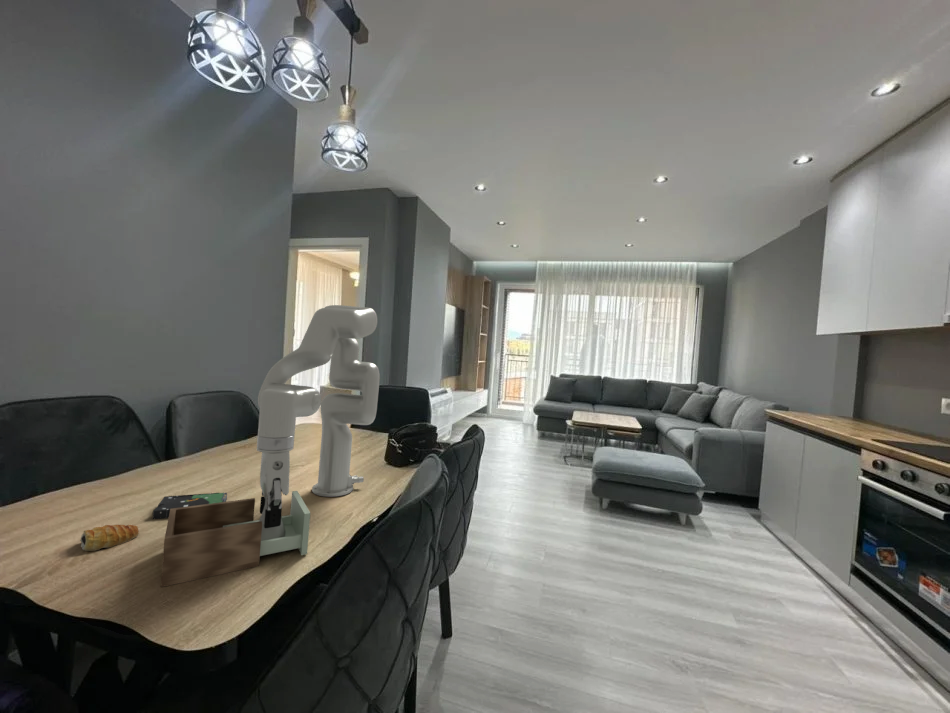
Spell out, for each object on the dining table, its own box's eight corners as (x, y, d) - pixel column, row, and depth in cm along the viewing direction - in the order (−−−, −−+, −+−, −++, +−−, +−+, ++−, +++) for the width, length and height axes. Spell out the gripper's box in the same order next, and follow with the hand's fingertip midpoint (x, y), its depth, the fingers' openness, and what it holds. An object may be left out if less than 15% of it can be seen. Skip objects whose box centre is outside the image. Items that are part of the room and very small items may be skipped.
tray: (294, 526, 98) (297, 490, 98) (307, 554, 86) (310, 512, 86) (221, 539, 89) (224, 499, 89) (224, 571, 77) (227, 526, 77)
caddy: (251, 535, 93) (254, 498, 93) (258, 565, 81) (262, 523, 81) (167, 550, 84) (170, 508, 84) (160, 587, 71) (164, 538, 71)
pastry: (133, 530, 91) (135, 514, 91) (142, 540, 87) (143, 523, 87) (77, 544, 84) (78, 527, 84) (84, 556, 80) (85, 537, 80)
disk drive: (151, 522, 97) (222, 514, 103) (152, 511, 97) (222, 504, 103) (163, 506, 106) (227, 500, 113) (163, 496, 106) (227, 490, 112)
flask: (259, 529, 92) (262, 487, 92) (290, 530, 92) (294, 489, 92) (244, 544, 84) (247, 499, 84) (278, 545, 85) (282, 500, 85)
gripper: (301, 450, 83) (294, 532, 83) (287, 433, 97) (281, 503, 98) (261, 453, 79) (255, 539, 79) (253, 435, 93) (247, 508, 93)
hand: (269, 518), depth 88 cm, fingers open, 7 cm apart
